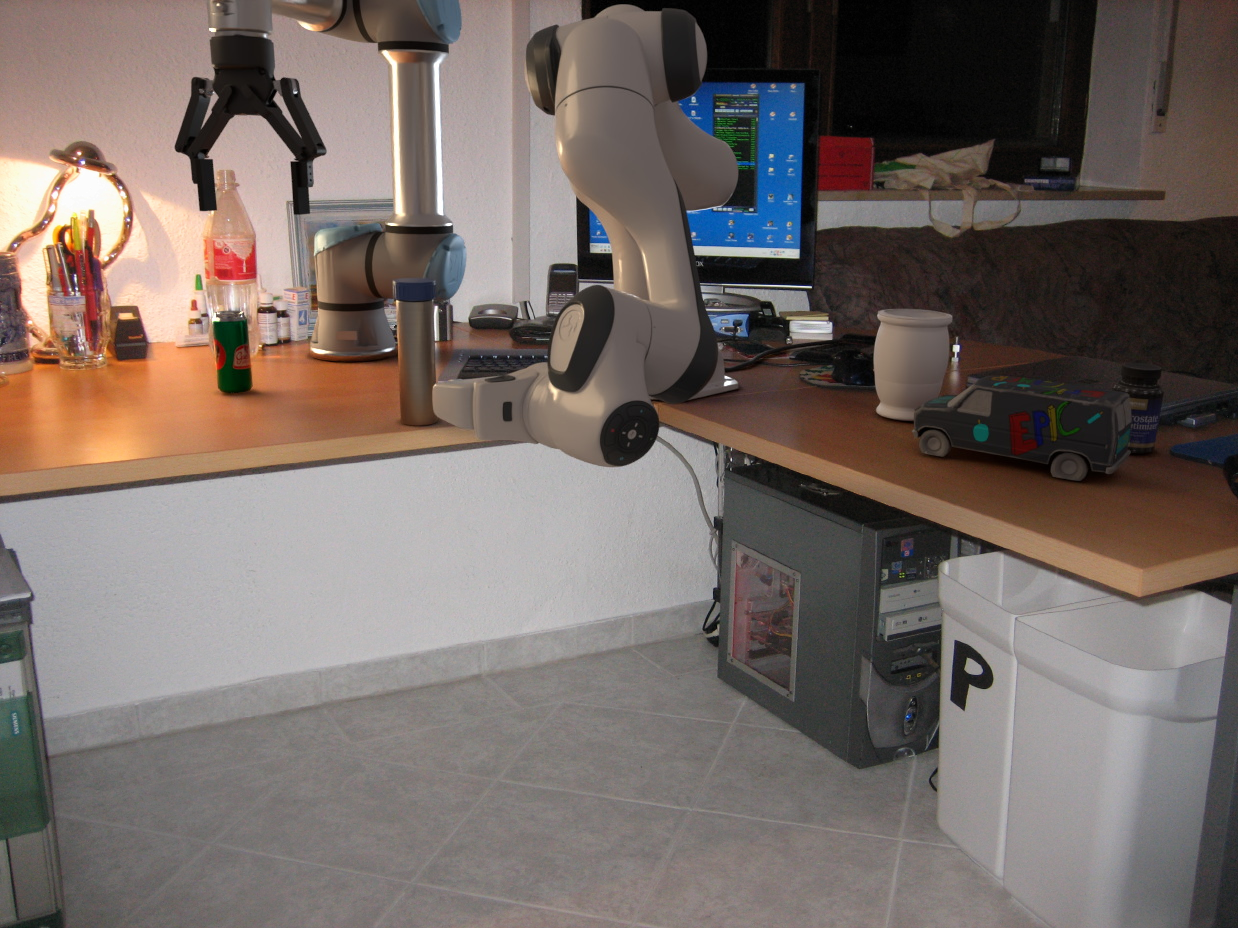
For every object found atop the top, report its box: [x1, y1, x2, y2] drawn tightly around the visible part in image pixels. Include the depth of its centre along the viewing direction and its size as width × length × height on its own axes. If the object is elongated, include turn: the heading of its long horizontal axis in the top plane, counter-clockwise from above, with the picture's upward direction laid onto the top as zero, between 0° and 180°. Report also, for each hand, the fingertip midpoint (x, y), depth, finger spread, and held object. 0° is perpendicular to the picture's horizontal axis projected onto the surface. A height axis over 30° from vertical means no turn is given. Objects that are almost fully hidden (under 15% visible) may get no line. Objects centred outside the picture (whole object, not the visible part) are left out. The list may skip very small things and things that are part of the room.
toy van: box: [911, 374, 1133, 482], centre depth 133 cm, size 11×25×10 cm, turn 54°
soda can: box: [211, 310, 254, 395], centre depth 162 cm, size 5×5×12 cm
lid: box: [392, 278, 436, 301], centre depth 143 cm, size 6×6×2 cm
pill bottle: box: [1111, 362, 1165, 455], centre depth 139 cm, size 6×6×11 cm
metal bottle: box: [395, 299, 438, 427], centre depth 146 cm, size 5×5×19 cm
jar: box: [873, 308, 953, 422], centre depth 154 cm, size 11×10×15 cm
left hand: (254, 213), depth 138 cm, fingers open, 13 cm apart
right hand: (488, 382), depth 129 cm, fingers open, 8 cm apart
